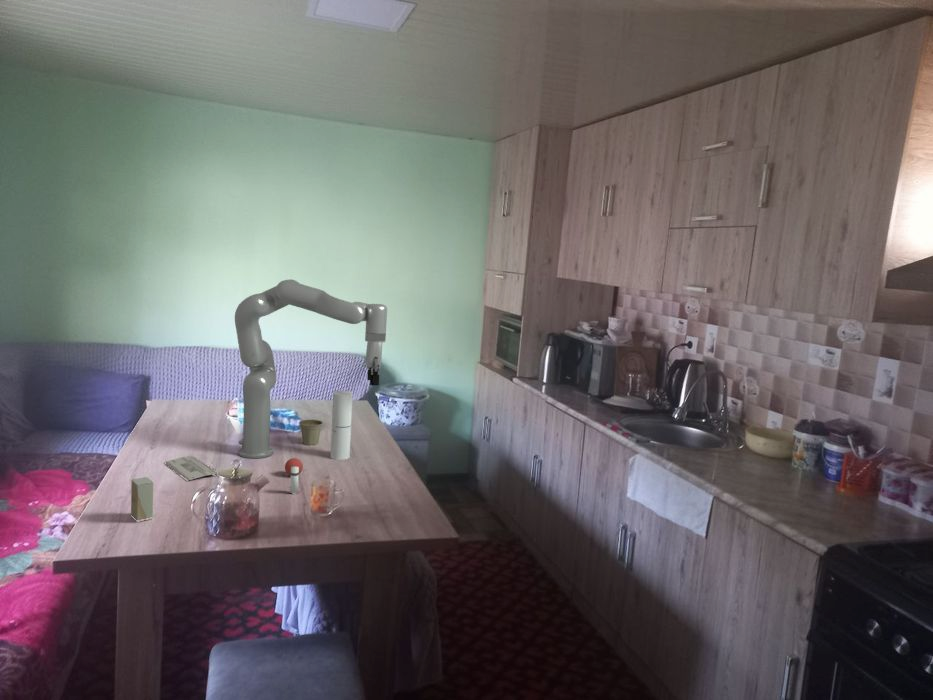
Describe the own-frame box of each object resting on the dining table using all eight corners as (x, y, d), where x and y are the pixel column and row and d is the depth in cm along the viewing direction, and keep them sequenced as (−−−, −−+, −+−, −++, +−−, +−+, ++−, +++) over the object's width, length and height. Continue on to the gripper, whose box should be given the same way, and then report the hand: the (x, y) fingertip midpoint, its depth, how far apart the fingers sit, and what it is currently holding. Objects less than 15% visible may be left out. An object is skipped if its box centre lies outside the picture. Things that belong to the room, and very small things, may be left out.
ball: (280, 475, 225) (281, 458, 224) (294, 471, 230) (295, 454, 229) (292, 479, 222) (293, 462, 221) (306, 475, 227) (306, 458, 226)
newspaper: (224, 477, 221) (223, 470, 221) (187, 487, 213) (187, 480, 213) (198, 458, 237) (197, 452, 237) (163, 467, 229) (162, 461, 229)
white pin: (288, 493, 209) (289, 467, 208) (294, 491, 211) (295, 465, 210) (293, 495, 208) (294, 469, 207) (299, 493, 210) (300, 467, 209)
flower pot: (299, 447, 258) (299, 425, 257) (297, 440, 267) (298, 419, 266) (323, 446, 261) (324, 425, 260) (320, 439, 270) (321, 419, 269)
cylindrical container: (345, 461, 245) (348, 395, 242) (327, 458, 246) (330, 393, 243) (352, 455, 252) (355, 392, 249) (334, 453, 253) (337, 390, 250)
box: (130, 517, 183) (130, 479, 182) (146, 513, 186) (146, 476, 185) (137, 523, 180) (137, 484, 178) (153, 519, 183) (153, 481, 181)
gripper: (363, 333, 250) (360, 377, 252) (367, 340, 234) (365, 387, 236) (382, 334, 252) (380, 378, 254) (388, 341, 235) (385, 387, 238)
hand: (372, 382), depth 245 cm, fingers open, 9 cm apart
